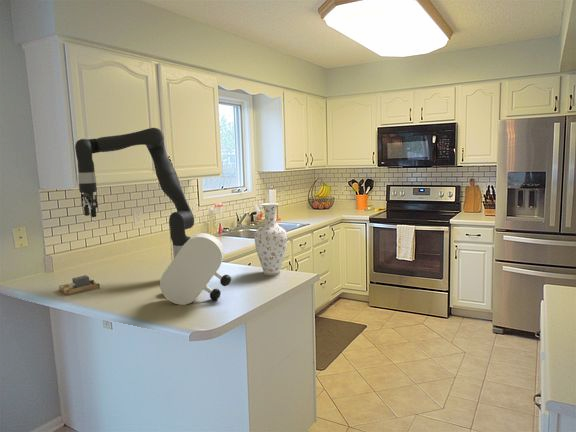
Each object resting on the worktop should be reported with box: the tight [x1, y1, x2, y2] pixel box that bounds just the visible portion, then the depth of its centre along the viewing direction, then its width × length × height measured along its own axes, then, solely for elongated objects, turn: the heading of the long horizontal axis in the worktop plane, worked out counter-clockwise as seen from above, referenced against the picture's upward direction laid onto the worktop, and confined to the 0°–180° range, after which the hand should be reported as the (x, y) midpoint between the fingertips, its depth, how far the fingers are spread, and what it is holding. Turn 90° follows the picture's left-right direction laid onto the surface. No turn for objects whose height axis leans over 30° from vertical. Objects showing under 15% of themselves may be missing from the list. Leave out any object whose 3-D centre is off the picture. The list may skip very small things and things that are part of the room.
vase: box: [254, 202, 288, 276], centre depth 220 cm, size 16×16×35 cm
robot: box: [159, 232, 232, 306], centre depth 181 cm, size 30×9×24 cm
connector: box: [67, 274, 95, 288], centre depth 203 cm, size 4×11×4 cm, turn 134°
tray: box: [58, 278, 101, 296], centre depth 203 cm, size 11×14×2 cm
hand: (90, 216), depth 211 cm, fingers open, 8 cm apart
